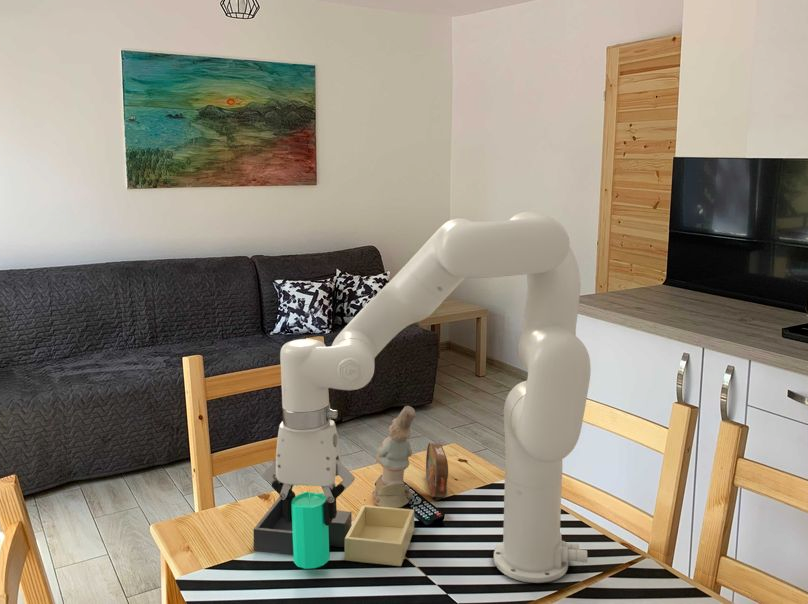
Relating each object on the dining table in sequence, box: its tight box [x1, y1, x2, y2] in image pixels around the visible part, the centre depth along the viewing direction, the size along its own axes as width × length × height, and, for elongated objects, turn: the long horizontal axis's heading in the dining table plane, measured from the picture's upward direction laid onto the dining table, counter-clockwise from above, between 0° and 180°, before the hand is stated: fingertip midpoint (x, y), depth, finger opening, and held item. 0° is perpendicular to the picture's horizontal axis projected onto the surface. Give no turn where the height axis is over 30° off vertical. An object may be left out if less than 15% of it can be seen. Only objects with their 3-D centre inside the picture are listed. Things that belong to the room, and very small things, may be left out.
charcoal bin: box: [253, 496, 293, 556], centre depth 130 cm, size 10×12×4 cm
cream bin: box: [344, 504, 415, 567], centre depth 127 cm, size 10×12×4 cm
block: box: [328, 510, 353, 549], centre depth 128 cm, size 4×4×4 cm
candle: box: [291, 490, 330, 570], centre depth 118 cm, size 6×6×12 cm
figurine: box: [371, 405, 416, 508], centre depth 143 cm, size 9×8×20 cm
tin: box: [425, 442, 449, 498], centre depth 149 cm, size 15×3×8 cm, turn 6°
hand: (310, 519), depth 118 cm, fingers closed on candle, 6 cm apart
